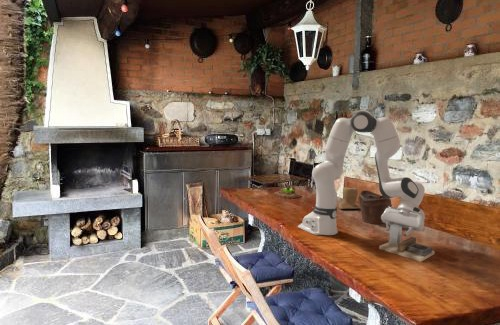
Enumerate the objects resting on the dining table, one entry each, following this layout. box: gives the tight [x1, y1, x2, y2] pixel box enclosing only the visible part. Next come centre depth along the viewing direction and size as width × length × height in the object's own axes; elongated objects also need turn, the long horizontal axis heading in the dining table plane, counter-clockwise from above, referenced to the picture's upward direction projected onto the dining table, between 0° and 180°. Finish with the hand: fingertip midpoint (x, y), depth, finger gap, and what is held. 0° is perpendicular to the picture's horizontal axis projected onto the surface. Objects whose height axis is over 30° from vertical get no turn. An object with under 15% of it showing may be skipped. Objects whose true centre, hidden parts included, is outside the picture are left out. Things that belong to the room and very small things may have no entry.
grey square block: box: [388, 224, 403, 247], centre depth 176 cm, size 4×4×10 cm
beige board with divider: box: [378, 236, 435, 263], centre depth 173 cm, size 20×15×6 cm
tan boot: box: [337, 187, 361, 210], centre depth 253 cm, size 15×12×15 cm
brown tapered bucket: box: [357, 190, 393, 225], centre depth 222 cm, size 18×20×18 cm
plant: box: [273, 181, 302, 200], centre depth 289 cm, size 20×20×11 cm
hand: (396, 232), depth 176 cm, fingers open, 8 cm apart
